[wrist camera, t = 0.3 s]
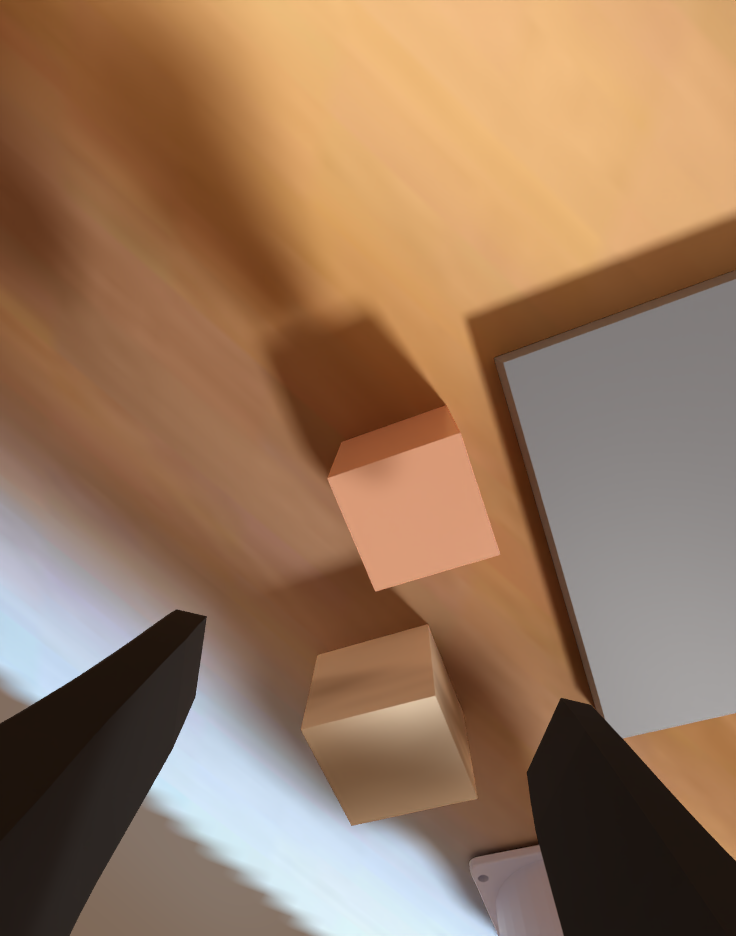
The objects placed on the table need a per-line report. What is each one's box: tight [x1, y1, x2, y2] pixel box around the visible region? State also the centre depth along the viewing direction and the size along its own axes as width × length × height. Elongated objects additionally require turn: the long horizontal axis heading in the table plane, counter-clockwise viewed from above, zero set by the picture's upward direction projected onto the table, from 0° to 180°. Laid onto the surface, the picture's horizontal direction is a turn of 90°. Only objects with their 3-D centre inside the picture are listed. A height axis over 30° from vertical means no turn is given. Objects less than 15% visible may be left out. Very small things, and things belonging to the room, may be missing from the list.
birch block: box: [301, 624, 478, 826], centre depth 19 cm, size 5×5×4 cm
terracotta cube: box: [327, 405, 500, 592], centre depth 16 cm, size 4×4×4 cm
